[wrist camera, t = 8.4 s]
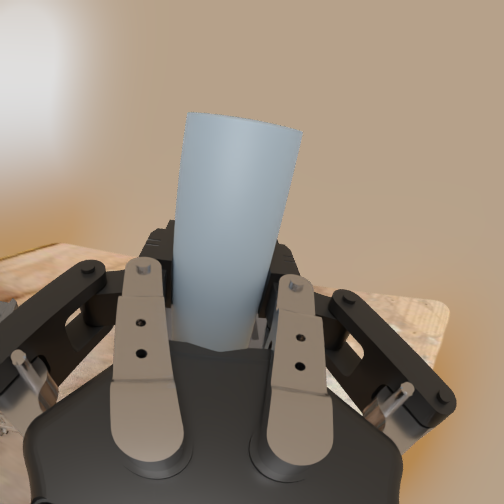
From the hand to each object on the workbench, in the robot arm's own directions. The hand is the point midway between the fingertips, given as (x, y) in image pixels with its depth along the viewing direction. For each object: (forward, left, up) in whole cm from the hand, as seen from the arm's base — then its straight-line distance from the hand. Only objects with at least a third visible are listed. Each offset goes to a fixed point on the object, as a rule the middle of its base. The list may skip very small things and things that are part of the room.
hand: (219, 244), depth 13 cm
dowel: (0, -3, -10) cm, 10 cm away
